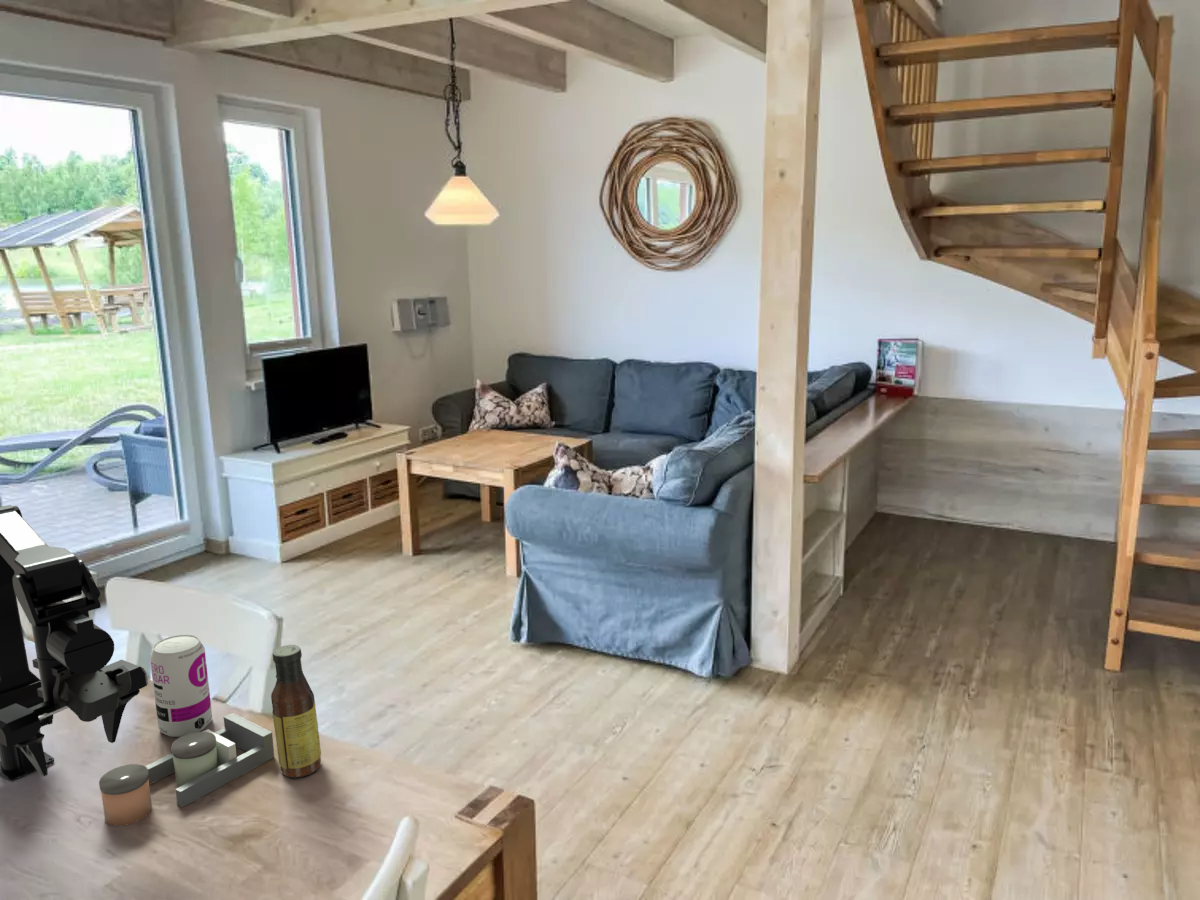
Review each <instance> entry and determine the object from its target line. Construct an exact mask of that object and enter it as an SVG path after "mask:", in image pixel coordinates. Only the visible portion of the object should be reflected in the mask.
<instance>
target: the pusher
mask: <svg viewBox="0 0 1200 900" xmlns="http://www.w3.org/2000/svg"><path fill="white" fill-rule="evenodd" d="M202 732H209V733H212V734H214V735H215V737H216V750H217V759H218V767H219V766H221V765H223V764H225V763H226V762H228V761H230V760H232V759H234V758H236V757H238V756H237V747H236V746H235V743H234V742H232V741H230V740H228V739H226V738H224V737H222V736H220V735H218V734H216V733H214V731H213V730H210V729H209V728H207V729H205V730H203V731H202Z"/></svg>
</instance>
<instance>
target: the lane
mask: <svg viewBox="0 0 1200 900" xmlns="http://www.w3.org/2000/svg"><path fill="white" fill-rule="evenodd" d="M223 725H224V727H223V728H220V729H219V730H216V731H215V732H214V731H213V732H214V733H216V734H218V735H220V736H222V737H224V738H226V739H228V740H230V741H232V742H234V743H235V746H236V748H238V749H240V750H242V751H244V753H242V754H240V755H238V756H237V757H236V758H234V759H232V760H230V761H228V762H226V763H225V764H223V765H221V766H218V767H217V768H215V769H213V770H211V771H209V772H207V773H205V774H203V775H202V776H200V777H198V778H196V779H194V780H192V781H190V782H188V783H186V784H184V785H182V786H178V787H177V788H175V795H176V803H177V804H176V805H178V806H179V807H180V808H183V807H185V806H187V805H189V804H191V803H192V802H195V801H196V800H198V799H201V798H202V797H204V796H205V794H206V795H208V794H209V793H212V792H213V791H215V790H216V789H218V788H220V787H222V786H224V785H225V783H226V784H227V782H228V783H229V781H230V782H231V781H233V780H235V779H237V778H239V777H240V776H242V775H244V774H246V773H248V772H250V771H251V770H253V769H255V768H257V767H259V766H261V765H263V764H265V763H266V762H268V761H270V760H271V759H274V758H275V749H274V738H273V732H272V731H270V729H269V730H268V729H267V728H264V727H262V726H260V725H259V724H256V723H254V722H252V721H250V720H248V719H246V718H244V717H242V716H239V715H238V714H236V713H233V712H231V713H230V714H226V715H225V716H223ZM144 766H145V767H147V769H148V774H149V778H148V780H149V784H150V785H151V784H154V783H155V782H158V781H159V779H160V780H161V778H162V779H163V778H166V777H168V776H170V775H171V774H173V773H175V768H174V760H173V755H172V752H171V753H169V754H168V755H165V756H163V757H161V758H159V759H157V760H155V761H153V762H151V763H149V764H147V765H144ZM238 776H239V777H238ZM236 777H237V778H236ZM153 782H154V783H153ZM214 789H215V790H214ZM203 795H204V796H203Z"/></svg>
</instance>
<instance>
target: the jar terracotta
mask: <svg viewBox="0 0 1200 900" xmlns="http://www.w3.org/2000/svg"><path fill="white" fill-rule="evenodd" d="M145 766H146V765H142V764H139V763H133V764H132V763H130V764H125V765H121V766H118V767H115V768H113V769H111V770H109V771H107V772H106V773H105V774H103V775H102V776H101V777H100V779H99V781H98V785H99V790H100V794H101V800H102V806H103V814H104V820H105V822H106V823H107V824H108V825H111V826H117V827H121V826H122V825H123V826H127V825H126V824H128V825H132V824H135V823H137V822H139V821H141V820H143V819H144V818H146V817H147V816H149V814H150V813H151V811H152V810H153V806H152V805H153V804H152V799H151V798H152V797H151V796H152V795H151V790H150V785H149V780H148V778H149V774H148V769H147V767H145ZM149 812H150V813H149ZM148 813H149V814H148ZM146 815H147V816H146ZM145 816H146V817H145ZM143 817H144V818H143ZM142 818H143V819H142ZM140 819H141V820H140ZM138 820H139V821H138ZM136 821H137V822H136ZM134 822H135V823H134ZM131 823H132V824H131ZM120 825H121V826H120Z"/></svg>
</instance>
